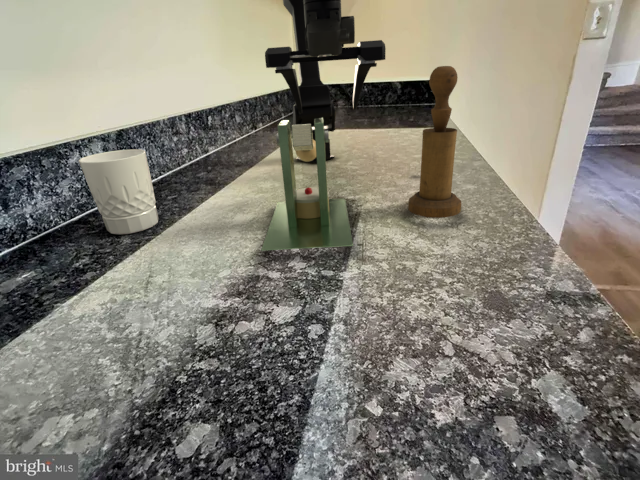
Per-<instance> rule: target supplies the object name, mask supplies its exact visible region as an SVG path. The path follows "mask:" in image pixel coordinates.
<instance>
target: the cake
mask: <svg viewBox="0 0 640 480" xmlns="http://www.w3.org/2000/svg"><path fill="white" fill-rule="evenodd" d="M296 192H297V198H296V202H297V212H298V218H301V219H313V218H318V217H320V203H319V188H318V187H302V188H297V189H296ZM327 192H328V211H329V199H330V198H329V197H330V191H329V190H328V189H327Z"/></svg>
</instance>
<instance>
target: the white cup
mask: <svg viewBox="0 0 640 480" xmlns="http://www.w3.org/2000/svg"><path fill="white" fill-rule="evenodd" d="M146 153H147V152H146V150H144V149H139V148H138V149H137V148H135V149H134V148H132V149H119V150H111V151H105V152H97V153H95V154H91V155H90V154H89V155H87V156H83V157H81V158H79V159H78V164H79V166H80V169H81V170H82V174H83V176H84V178H85V180H86V183H87V186H88V188H89V191H90V194H91V196H92V199H93V200H94V202H95V204H96V205H95V206H96V208H97V210H98V212H99V214H100V215H101V218H102V220H103V224H104V226H105V229H106V231H107V232H108V233H110V234H112V235H128V234H135V233H138V232H142V231H145V230H148V229H150V228H152V227H154V226H155V225H157V224H158V223H159V220H160V219H159V213H158V209H157V205H156V203H157V201H156V197H155V192H154V191H155V190H154V185H153V179H152V176H151V172H150V167H149V162H148V158H147V154H146Z"/></svg>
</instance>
